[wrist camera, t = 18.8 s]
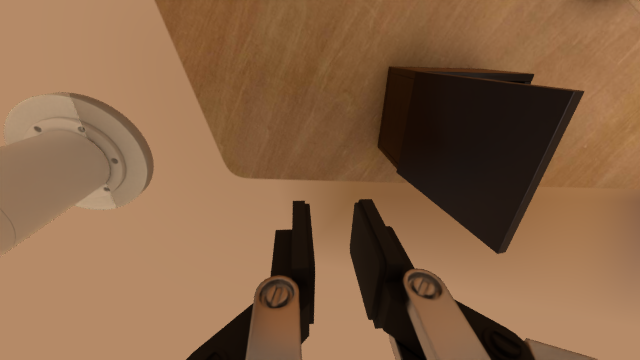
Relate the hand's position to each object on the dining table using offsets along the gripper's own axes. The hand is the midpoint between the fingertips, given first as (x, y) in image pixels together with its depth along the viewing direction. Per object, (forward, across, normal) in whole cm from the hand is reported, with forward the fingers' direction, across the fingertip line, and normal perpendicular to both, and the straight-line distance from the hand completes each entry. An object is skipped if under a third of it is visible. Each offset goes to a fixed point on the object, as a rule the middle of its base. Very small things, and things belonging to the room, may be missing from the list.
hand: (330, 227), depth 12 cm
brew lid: (+11, -13, 0) cm, 17 cm away
